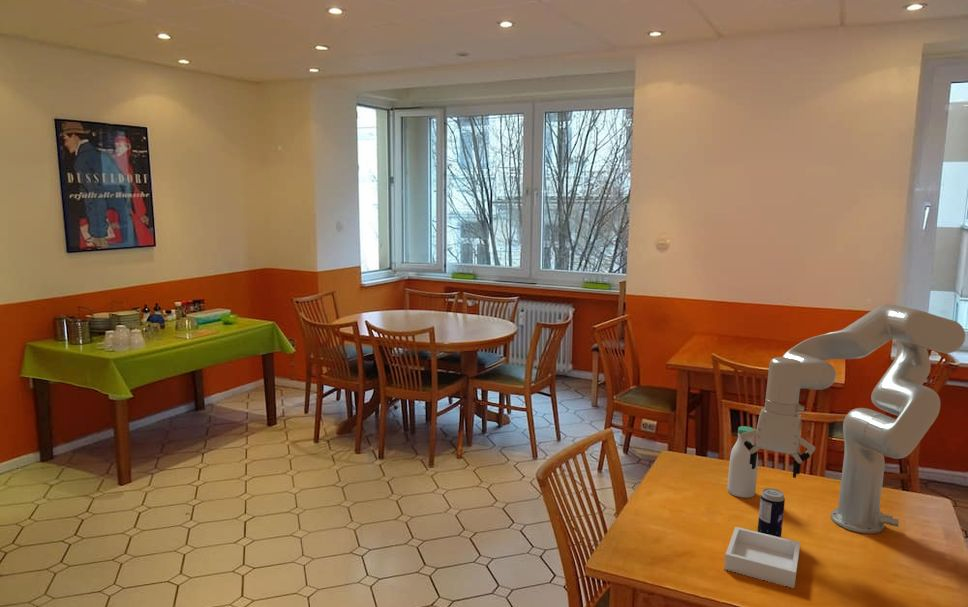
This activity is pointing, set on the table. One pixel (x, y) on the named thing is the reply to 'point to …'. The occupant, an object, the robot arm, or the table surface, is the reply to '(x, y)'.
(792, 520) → the table surface
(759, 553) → the box
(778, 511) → the beverage can
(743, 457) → the milk bottle
